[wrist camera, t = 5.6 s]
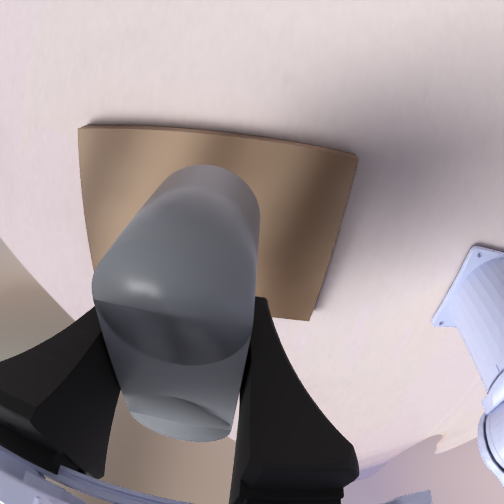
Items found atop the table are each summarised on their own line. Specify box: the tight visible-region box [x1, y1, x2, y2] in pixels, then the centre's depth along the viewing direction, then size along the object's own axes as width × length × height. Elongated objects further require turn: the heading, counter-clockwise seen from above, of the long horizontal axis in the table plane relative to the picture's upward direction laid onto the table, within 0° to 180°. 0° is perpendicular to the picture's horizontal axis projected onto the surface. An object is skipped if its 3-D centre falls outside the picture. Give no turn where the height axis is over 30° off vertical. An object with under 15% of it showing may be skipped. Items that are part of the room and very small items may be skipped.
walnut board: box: [78, 125, 358, 321], centre depth 19 cm, size 16×12×1 cm
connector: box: [92, 164, 260, 442], centre depth 12 cm, size 4×13×5 cm, turn 172°
